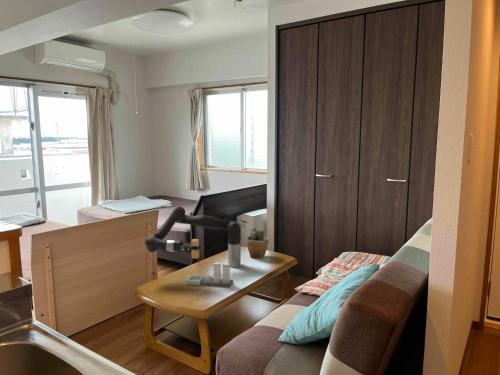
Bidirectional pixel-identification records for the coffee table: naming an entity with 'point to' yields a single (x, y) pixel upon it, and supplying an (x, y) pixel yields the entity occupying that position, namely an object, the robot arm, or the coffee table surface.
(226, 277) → the end white fuse
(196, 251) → the block
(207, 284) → the fuse block
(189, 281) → the tray
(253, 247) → the potted plant
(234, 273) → the coffee table surface
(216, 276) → the block
